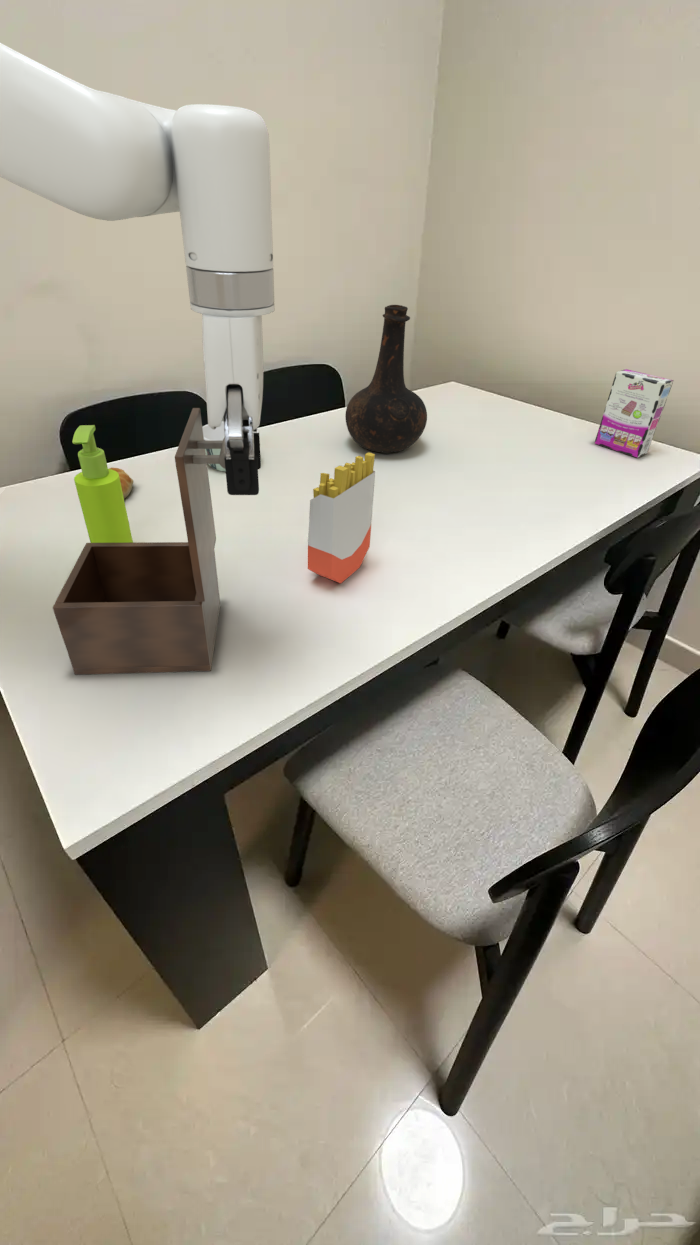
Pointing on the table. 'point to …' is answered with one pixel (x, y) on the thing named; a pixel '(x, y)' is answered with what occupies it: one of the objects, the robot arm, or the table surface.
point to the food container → (215, 435)
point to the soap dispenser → (100, 492)
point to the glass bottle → (387, 396)
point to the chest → (137, 610)
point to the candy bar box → (633, 412)
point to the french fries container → (341, 519)
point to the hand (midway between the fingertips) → (245, 479)
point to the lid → (198, 497)
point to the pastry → (124, 481)
